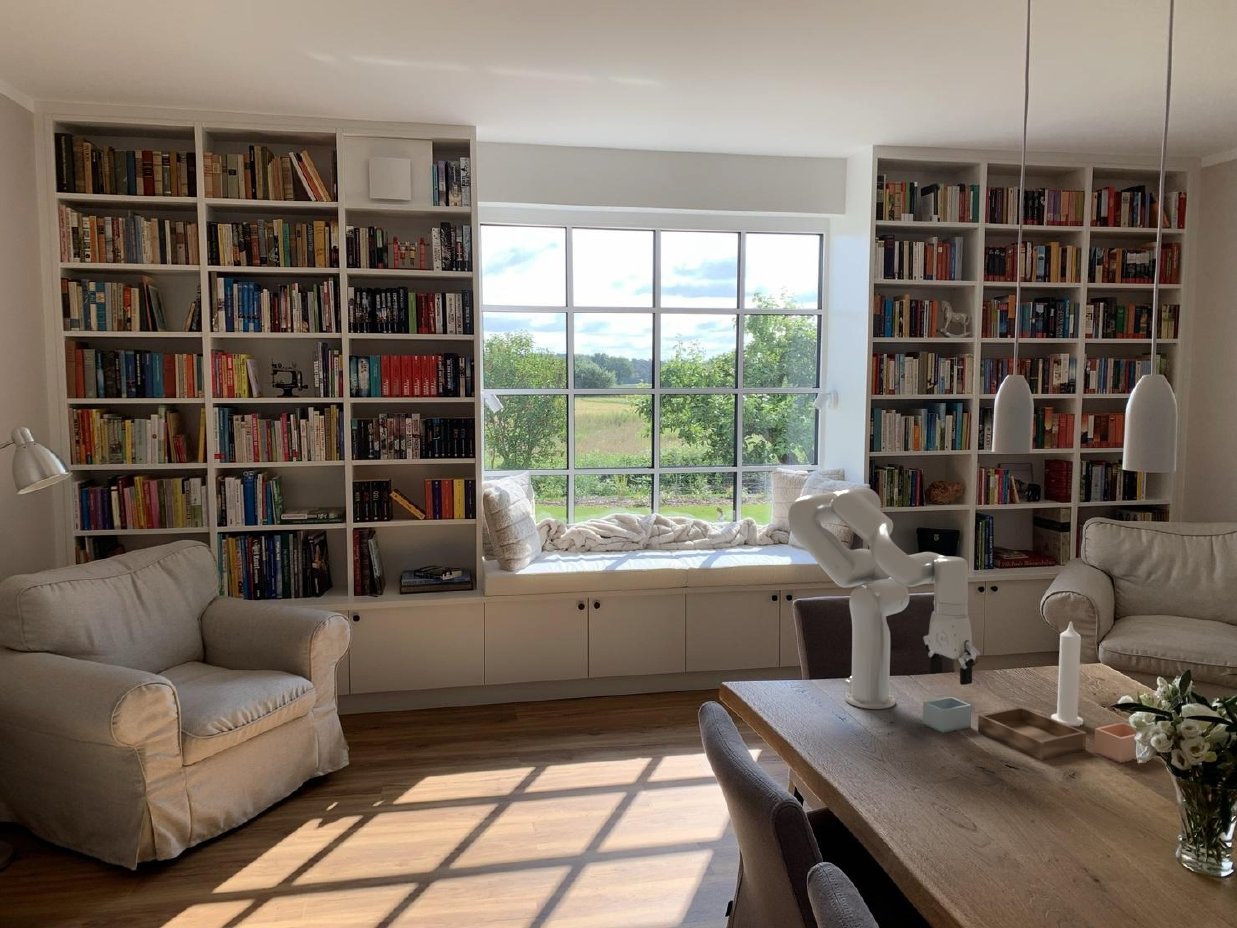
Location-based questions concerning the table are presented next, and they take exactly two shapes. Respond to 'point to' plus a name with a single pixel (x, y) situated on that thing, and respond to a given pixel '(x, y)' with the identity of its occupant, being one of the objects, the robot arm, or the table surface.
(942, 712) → the bluegrey crate
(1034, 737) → the walnut crate
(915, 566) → the robot arm
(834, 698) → the table surface
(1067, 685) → the candle
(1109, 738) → the terracotta crate
